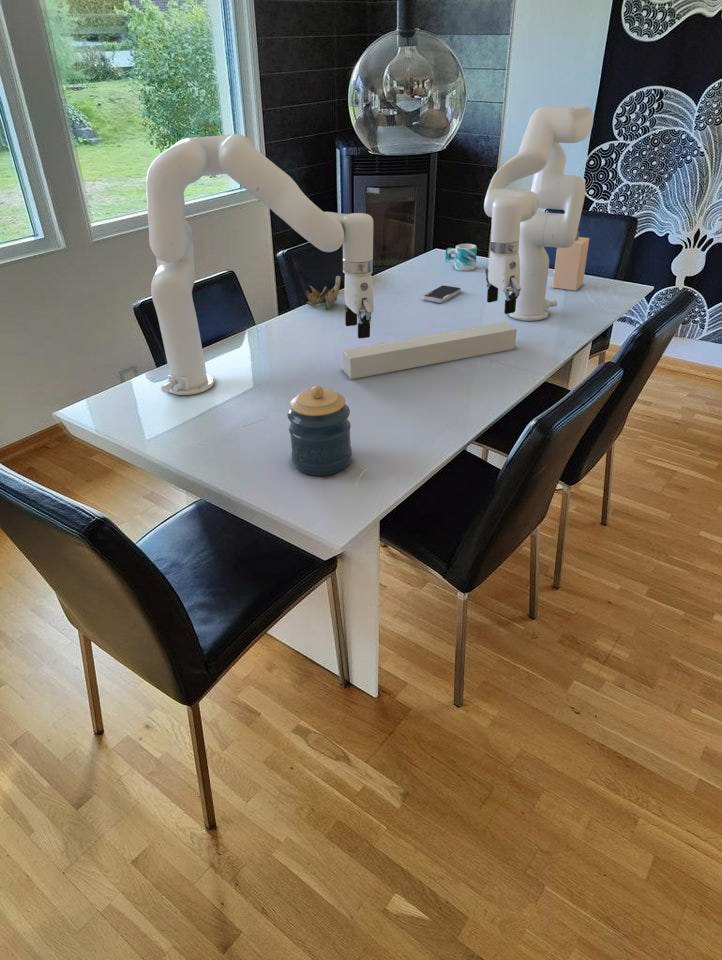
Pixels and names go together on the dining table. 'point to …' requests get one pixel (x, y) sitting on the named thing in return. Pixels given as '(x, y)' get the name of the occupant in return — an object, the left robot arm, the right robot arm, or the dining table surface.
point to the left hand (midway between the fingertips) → (357, 331)
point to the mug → (463, 256)
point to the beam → (428, 350)
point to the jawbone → (324, 295)
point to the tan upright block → (571, 264)
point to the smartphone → (441, 294)
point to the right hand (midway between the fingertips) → (500, 307)
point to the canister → (320, 432)
